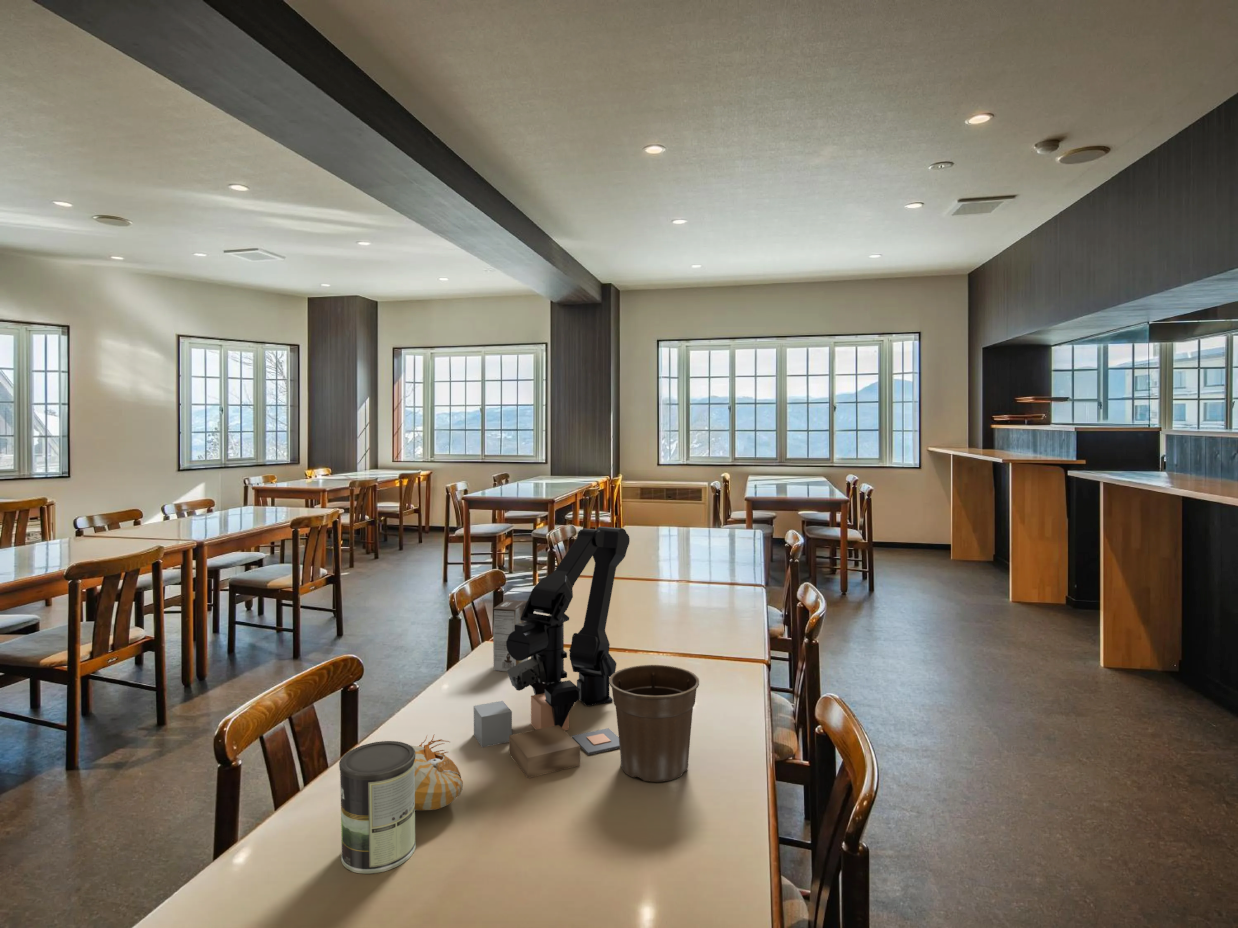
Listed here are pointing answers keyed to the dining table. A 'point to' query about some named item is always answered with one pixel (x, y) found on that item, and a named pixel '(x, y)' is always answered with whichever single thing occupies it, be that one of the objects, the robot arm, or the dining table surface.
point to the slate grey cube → (492, 723)
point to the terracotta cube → (543, 713)
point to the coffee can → (377, 806)
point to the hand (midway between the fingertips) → (549, 721)
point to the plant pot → (654, 719)
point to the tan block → (544, 751)
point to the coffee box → (505, 632)
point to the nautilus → (435, 778)
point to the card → (597, 741)
